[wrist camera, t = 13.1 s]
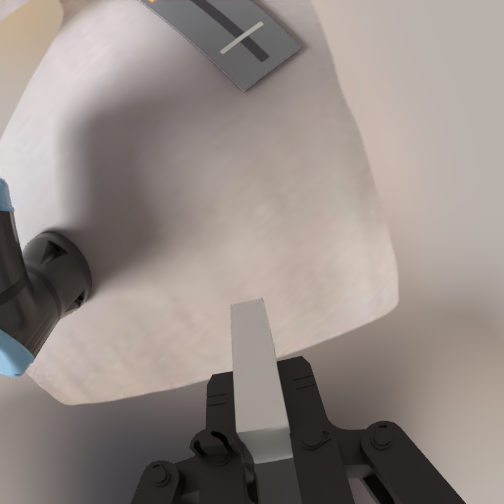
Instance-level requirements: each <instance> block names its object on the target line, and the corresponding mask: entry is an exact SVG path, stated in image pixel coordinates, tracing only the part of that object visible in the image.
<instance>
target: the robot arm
mask: <svg viewBox="0 0 504 504" xmlns="http://www.w3.org/2000/svg"><path fill="white" fill-rule="evenodd" d="M90 290H91V275H90V271H89V268H88V265H87V263H86V261H85V259H84V257H83V255H82V254H81V252H80V251H79V250H78V249H77V247H76V246H75V245H74V244H73V243H72V242H70V241H69V240H68V239H66V238H65V237H63V236H61V235H59V234H56V233H50V232H47V233H42V234H39V235H38V236H36V237H35V238H33V239H32V240H31V241H30V242H29V243H28V244H27V245H26V246H25V248H24V250H23V252H22V251H21V247H20V243H19V238H18V233H17V229H16V223H15V218H14V208H13V207H12V203H11V199H10V193H9V188H8V185H7V183H6V181H5V180H4V179H2V178H0V374H3V375H5V376H8V377H19V376H21V375H22V374H24V372H25V371H26V370H27V368H28V367H29V365H30V364H31V363H33V362H34V359H35V358H36V356H37V354H38V353H39V351H40V349H41V348H42V346H43V344H44V343H45V341H46V340H47V338H48V336H49V335H50V333H51V332H52V330H53V329H54V327H55V326H56V324H57V323H58V321H59V320H60V319H62V318H63V317H65V316H67V315H69V314H71V313H72V312H74V311H76V310H77V309H79V308H80V307H81V306H82V305H83V303H84V302H85V300H86V299H87V298H88V296H89V294H90ZM231 333H232V358H233V371H231V372H226V373H220V374H213V375H212V377H211V379H210V381H209V382H208V384H207V402H206V404H207V405H206V406H207V408H206V429H205V430H202V431H201V432H199V433H197V434H196V435H195V436H194V438H193V439H192V440H191V443H190V449H191V450H192V451H193V452H194V453H195V454H196V455H195V456H194V457H191V458H189V459H187V460H184V461H181V462H178V463H175V464H172V463H170V462H168V461H156V462H152V463H151V464H150V465H148V466H147V467H146V469H145V470H144V472H143V474H142V476H141V479H140V482H139V484H138V487H137V489H136V492H135V494H134V497H133V500H132V502H131V504H261V500H260V492H259V484H258V477H257V474H256V472H255V471H254V462H255V463H264V462H269V461H276V460H281V459H286V458H291V457H293V458H294V463H295V468H296V474H297V478H298V484H299V489H300V494H301V499H302V504H355V503H354V499H353V496H352V492H351V489H350V485H349V482H348V478H359V479H360V481H361V482H362V484H363V485H364V487H365V488H366V489H367V491H368V492H369V494H370V495H371V497H372V498H373V500H374V501H375V502H376V504H466V503H465V502H464V501H463V500H462V498H461V497H460V496H459V495H458V494H457V493H456V491H455V490H454V489H453V488H452V487H451V486H450V484H449V483H448V482H447V481H446V480H445V479H444V478H443V477H442V475H441V474H440V473H439V472H438V471H437V470H436V468H435V467H434V466H433V465H432V464H431V463H430V461H429V460H428V459H427V458H426V457H425V456H424V454H423V453H422V452H421V451H420V450H419V449H418V448H417V446H416V445H415V444H414V443H413V442H412V440H410V438H409V437H408V436H407V435H406V434H405V432H404V431H403V430H402V429H401V428H400V427H399V426H398V425H397V424H395V423H393V422H389V421H379V422H376V423H374V424H371V425H370V426H369V427H368V428H367V429H362V430H345V429H340V428H338V427H336V426H334V425H332V423H331V422H330V421H329V420H328V418H327V416H326V413H325V410H324V407H323V403H322V400H321V397H320V394H319V391H318V387H317V385H316V381H315V378H314V375H313V372H312V369H311V365H310V363H308V362H307V361H306V360H305V359H304V358H303V357H302V356H299V357H295V358H291V359H286V360H282V361H278V362H277V357H276V352H275V347H274V343H273V338H272V334H271V330H270V326H269V322H268V317H267V313H266V309H265V305H264V301H263V298H261V299H257V300H252V301H248V302H243V303H239V304H234V305H231ZM253 460H254V461H253Z"/></svg>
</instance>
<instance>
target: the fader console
mask: <svg viewBox="0 0 504 504" xmlns="http://www.w3.org/2000/svg"><path fill="white" fill-rule="evenodd" d="M138 1H139V2H141V3H142V4H143V5H145V6H146V7H147V8H149V9H150V10H151V11H153V12H154V13H155V14H156V15H158V16H159V17H160V18H162V19H163V20H164V21H165V22H167V23H168V24H169V25H170V26H171V27H173V28H174V29H175V30H176V31H178V32H179V33H180V34H181V35H182V36H183V37H185V38H186V39H187V40H188V41H189V42H190V43H192V44H193V45H194V46H195V47H196V48H197V49H198V50H200V51H201V52H202V53H203V54H204V55H205V56H206V57H207V58H208V59H209V60H211V61H212V62H213V63H214V64H215V65H216V66H217V67H218V68H219V69H220V70H221V71H222V72H223V73H224V74H225V75H226V76H227V77H228V78H230V79H231V80H232V81H233V82H234V83H235V84H236V85H237V86H238V87H239V88H240V89H241V90H242V91H243V92H245V91H247V90H248V89H249V88H250V87H251V86H253V85H254V84H255V83H256V82H258V81H259V80H260V79H261V78H263V77H264V76H265V75H267V74H268V73H269V72H270V71H272V70H273V69H274V68H276V67H277V66H278V65H280V64H281V63H282V62H284V61H285V60H286V59H288V58H289V57H291V56H292V55H293V54H295V53H296V52H298V51H299V50H300V49H301V48H302V47H301V46H300V45H299V44H298V43H297V42H296V41H295V40H294V39H293V38H292V37H291V36H290V35H289V34H288V33H287V32H286V31H285V30H284V29H283V28H282V27H281V26H280V25H279V24H278V23H277V22H275V21H274V20H273V19H272V18H271V17H270V16H269V15H268V14H267V13H265V12H264V11H263V10H262V9H261V8H260V7H259V6H257V5H256V4H255V3H254V2H253V1H251V0H138Z"/></svg>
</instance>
